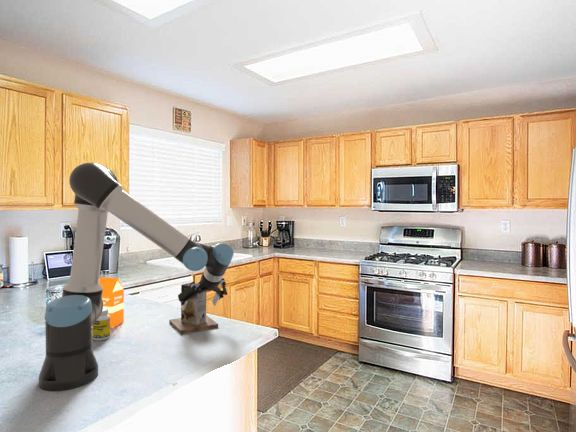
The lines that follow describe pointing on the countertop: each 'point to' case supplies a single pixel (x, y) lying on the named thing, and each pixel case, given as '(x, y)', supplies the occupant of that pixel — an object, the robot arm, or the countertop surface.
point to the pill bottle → (101, 326)
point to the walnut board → (188, 328)
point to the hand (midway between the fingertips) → (198, 305)
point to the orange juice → (113, 299)
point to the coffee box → (194, 308)
